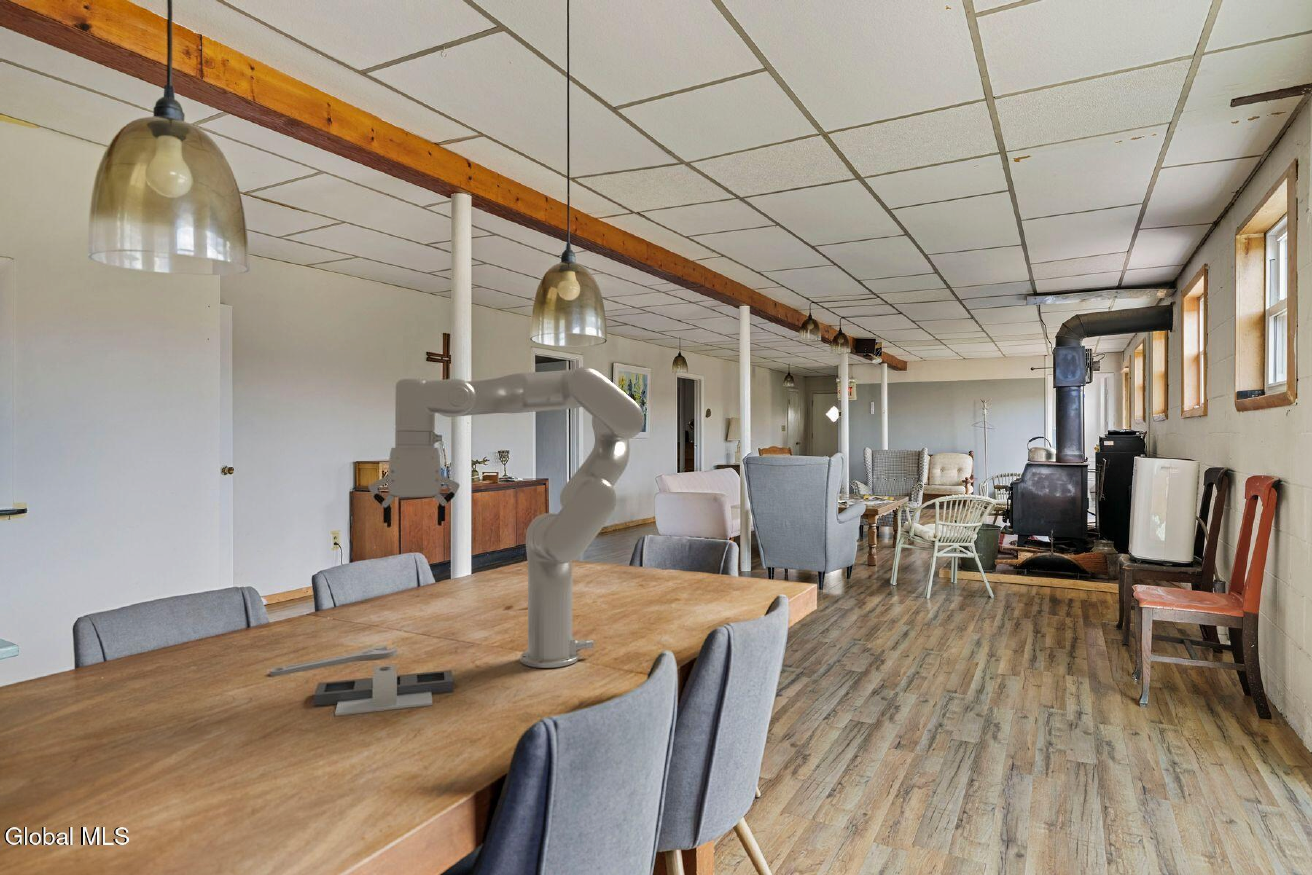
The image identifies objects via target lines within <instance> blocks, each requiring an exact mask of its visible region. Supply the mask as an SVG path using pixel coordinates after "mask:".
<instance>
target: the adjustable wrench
mask: <svg viewBox="0 0 1312 875" xmlns="http://www.w3.org/2000/svg"><path fill="white" fill-rule="evenodd" d="M397 655H398V648H397V647H395V648H392V649H389V650H388V645H378V646H372V647H366V648H365V649H363V650H360V651H359V652H355V653H349V654H345V655H340V656H333V657H328V658H322V659H317V660H312V661H306V662H300V663H296V664H289V665H284V666H280V667H273V668H271V669H270V670H269V676H270V677H279V676H285V675H286V676H287V675H291V674H296V673H301V672H307V671H311V670H312V671H313V670H316V669H321V668H327V667H333V666H338V665H343V664H348V662H349V663H353V662H359V661H370V660H371V661H372V660H385V659H390V658H393V657H396V656H397Z"/></svg>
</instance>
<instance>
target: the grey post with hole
mask: <svg viewBox="0 0 1312 875" xmlns="http://www.w3.org/2000/svg"><path fill="white" fill-rule="evenodd" d="M397 675H398V664H387V665H377V666H373V668H372V678H373V701H372V707H382V706H391V705H397Z"/></svg>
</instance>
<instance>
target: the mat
mask: <svg viewBox="0 0 1312 875" xmlns="http://www.w3.org/2000/svg"><path fill="white" fill-rule="evenodd" d="M432 695H433V694H431V692H425V693H415V694H406V695H397V705H391V706H382V707H372V701H373V698H368V699H358V700H349V701H339V702H338V704H336V709H335V711H334V716H335V717H336V716H344V715H354V714H356V715H357V714H363V713H372V712H382V711H391V710H400V709H409V708H417V707H419V708H420V707H426V706H433V697H432Z"/></svg>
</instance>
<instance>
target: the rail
mask: <svg viewBox="0 0 1312 875" xmlns="http://www.w3.org/2000/svg"><path fill="white" fill-rule="evenodd" d="M425 692H431V694H432V695H433V694H444V693H453V692H454V677H453V671H452V669H447V670H438V671H427V672H416V673H407V674H406V673H405V674H397V695H406V694H415V693H425ZM368 698H373V677H364V678H353V679H345V680H334V681H325V682H324V681H323V682H318V683H317V685H316V688H315V690H314V693H313V707H321V706H330V705H332V706H333V705H337V704H338V702H339V701H349V700H358V699H368Z"/></svg>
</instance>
